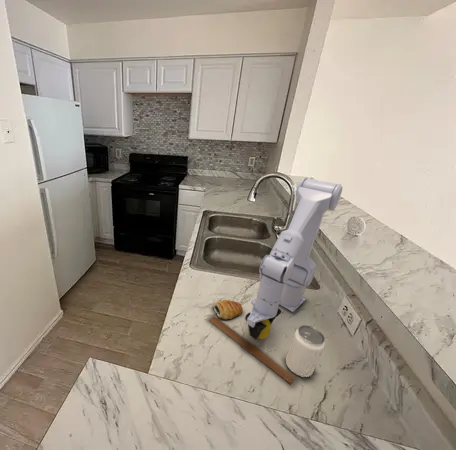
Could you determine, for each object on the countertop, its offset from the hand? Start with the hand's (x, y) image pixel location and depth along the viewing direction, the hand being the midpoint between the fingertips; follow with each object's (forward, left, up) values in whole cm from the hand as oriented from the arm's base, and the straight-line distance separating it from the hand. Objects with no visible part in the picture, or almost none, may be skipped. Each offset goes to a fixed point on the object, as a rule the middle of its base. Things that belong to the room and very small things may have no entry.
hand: (259, 331), depth 75 cm
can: (0, +12, -2) cm, 12 cm away
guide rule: (+5, 0, -2) cm, 6 cm away
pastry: (-1, -12, -2) cm, 12 cm away
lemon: (0, 0, -2) cm, 2 cm away
